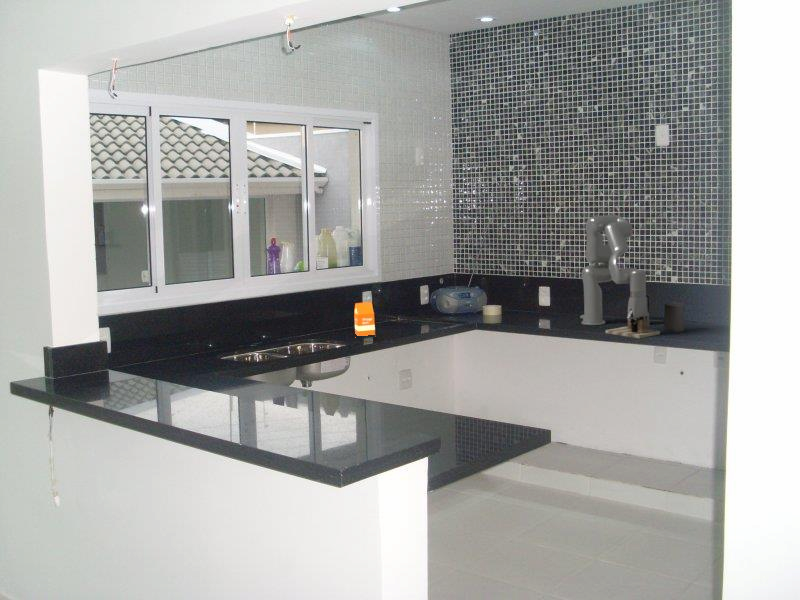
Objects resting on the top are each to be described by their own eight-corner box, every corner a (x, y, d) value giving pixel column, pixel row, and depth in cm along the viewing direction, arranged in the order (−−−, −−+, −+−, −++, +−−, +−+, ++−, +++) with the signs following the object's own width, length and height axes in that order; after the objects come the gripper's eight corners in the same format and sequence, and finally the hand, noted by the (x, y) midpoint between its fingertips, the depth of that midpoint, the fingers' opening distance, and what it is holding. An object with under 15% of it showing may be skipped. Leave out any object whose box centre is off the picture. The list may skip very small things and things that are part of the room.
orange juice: (375, 341, 450) (373, 302, 447) (359, 342, 447) (356, 304, 444) (371, 338, 457) (369, 301, 454) (355, 340, 455) (353, 302, 452)
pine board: (605, 333, 442) (605, 330, 442) (625, 329, 450) (625, 326, 450) (639, 338, 424) (639, 335, 423) (659, 334, 432) (659, 331, 432)
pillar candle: (660, 330, 442) (660, 301, 440) (672, 327, 448) (672, 299, 446) (676, 332, 434) (676, 303, 432) (688, 330, 440) (688, 300, 438)
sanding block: (627, 330, 436) (627, 319, 435) (634, 329, 439) (634, 317, 438) (641, 332, 428) (641, 320, 428) (648, 331, 431) (648, 319, 430)
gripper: (643, 292, 439) (644, 327, 441) (620, 296, 429) (620, 332, 432) (655, 293, 433) (655, 329, 435) (632, 297, 423) (632, 334, 426)
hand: (638, 330), depth 433 cm, fingers closed on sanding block, 5 cm apart
